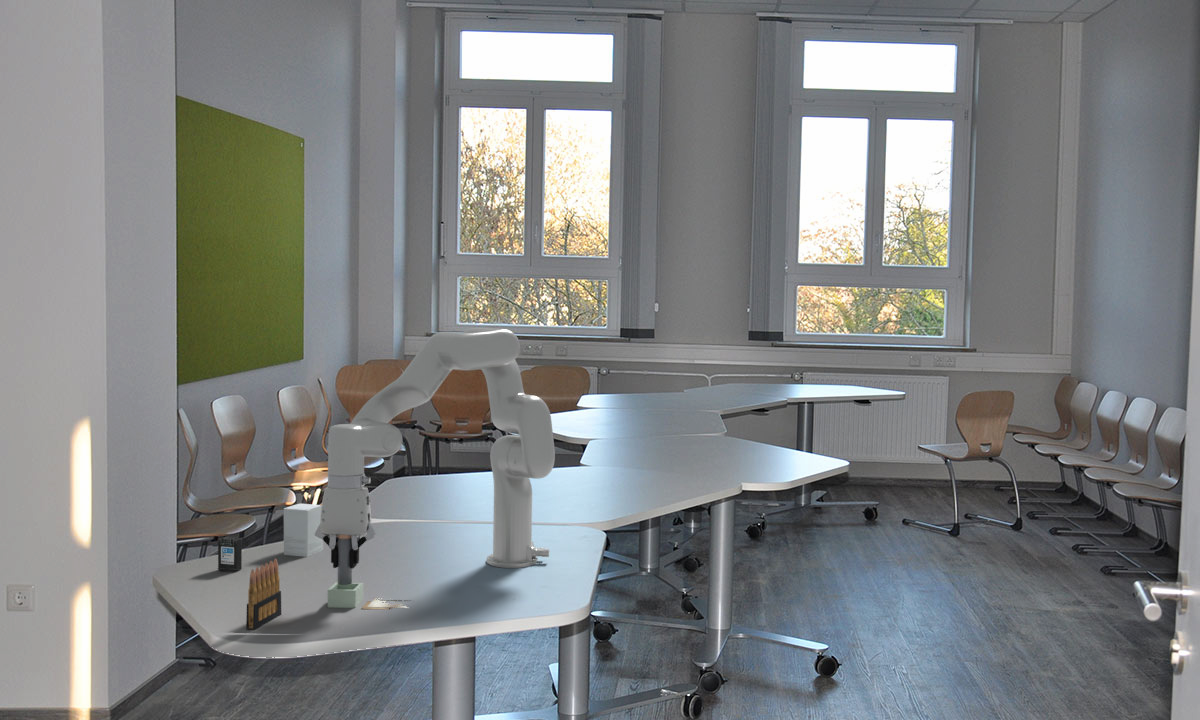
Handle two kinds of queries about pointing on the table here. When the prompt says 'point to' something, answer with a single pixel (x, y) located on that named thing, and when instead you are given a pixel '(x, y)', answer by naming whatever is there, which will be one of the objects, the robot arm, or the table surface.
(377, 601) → the writing board
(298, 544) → the supplement box
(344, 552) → the marker
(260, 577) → the ammunition clip
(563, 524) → the table surface
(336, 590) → the green open box
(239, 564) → the ink cartridge
